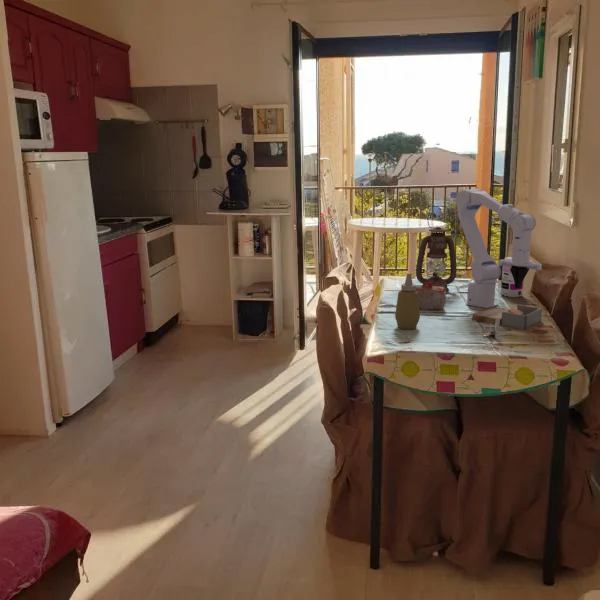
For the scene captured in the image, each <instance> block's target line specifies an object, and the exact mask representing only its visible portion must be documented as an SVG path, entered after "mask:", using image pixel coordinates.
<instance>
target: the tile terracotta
mask: <svg viewBox="0 0 600 600" xmlns="http://www.w3.org/2000/svg"><path fill="white" fill-rule="evenodd" d="M508 312H509V313H515V314H521V315H523V314H524V313H523V312H521V311H519V310H517V308H515V307H511V308H509V310H508Z"/></svg>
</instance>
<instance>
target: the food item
mask: <svg viewBox="0 0 600 600" xmlns="http://www.w3.org/2000/svg"><path fill="white" fill-rule="evenodd" d="M415 285H416V290H415V291H417V292H418V295H419V310H422V309H423V310H422V311H429V309H431V310H430V311H439V310H441V309H443V308H444V307H445V305H446V297H447V293H446V290H445V287H437V286H433V284H432V283H429V282H424V283H423V284H415Z"/></svg>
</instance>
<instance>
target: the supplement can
mask: <svg viewBox="0 0 600 600" xmlns="http://www.w3.org/2000/svg"><path fill="white" fill-rule="evenodd" d="M503 260H512V256H506V257H504V259H503ZM511 267H512V266H503V265H502V271H501V282H500V283H501V286H500V294H501V295H502V296H503V295H504V297H506V296H508V298H520V297H521V296H522V295H523V292H524V291H523V290H524V280H525V279H524V280H523V283H522V286H521V288H515V282H514V278H513V276H512V273H511V271H510V268H511ZM519 296H520V297H519Z"/></svg>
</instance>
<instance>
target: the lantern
mask: <svg viewBox="0 0 600 600" xmlns="http://www.w3.org/2000/svg"><path fill="white" fill-rule="evenodd" d="M437 207H438V208H439V207H440V208H441V207H442V208H443V207H444V208H446V209H447V211H448V223H447V226H446V227H440V226H435V227H431V226H430V223H429V221H427V225H428V228H430V229H428V231H429V232H430V235H426V236H424V237H423V238H422V240H421V243H420V245H419V249H418V250H419V251H418V255H417V262H416V266H415V267H416V268H415V277H416V279H417V281H418V283H420V284H421V285H423V283H424V282H429V283H432V284H433V286H437V287H445V290H446V294H448V293H449V292H450V291H449V290H450V289H449V288H448V285H450V284H452V283H453V282H454V281H455V279H456V276H457V269H458V268H457V259H456V247H455V243H454V242H455V241H454V240H453V238H452V237H450V236H448V235H446V232H448V231H449V230H448V229H447V228H448V227H449V225H450V222H451V221H450V220H451V218H450V217H451V216H450V215H451V213H450V209H449V208H448V206H445V205H433V206H431V207H430V209H429V211H428V214H427V220H429V219H430V217H429V216H430V213H431V210H432V208H437ZM427 249H429V251H428V252H427V254H426V250H427ZM446 250H448V254H447V253H446V252H445V251H446ZM425 254H426V270H425V269H423V263H424V259H425ZM448 255H449V264H450V267H449V268H450V271H449V277H447V278H445V276H446V273H448V272H447V270H446V269H447V265H448V264H447V262H448ZM429 259H430V260H429ZM443 259H444V260H443ZM425 272H426V276H427V277H429V278H425V277H424V276H423V275H422V274H425ZM443 278H444V279H443ZM447 292H448V293H447Z"/></svg>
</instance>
